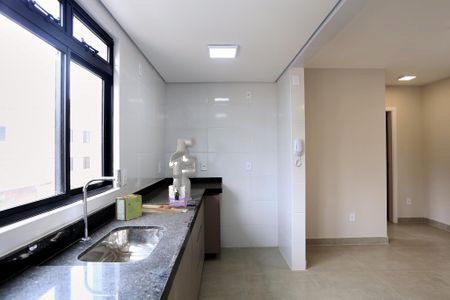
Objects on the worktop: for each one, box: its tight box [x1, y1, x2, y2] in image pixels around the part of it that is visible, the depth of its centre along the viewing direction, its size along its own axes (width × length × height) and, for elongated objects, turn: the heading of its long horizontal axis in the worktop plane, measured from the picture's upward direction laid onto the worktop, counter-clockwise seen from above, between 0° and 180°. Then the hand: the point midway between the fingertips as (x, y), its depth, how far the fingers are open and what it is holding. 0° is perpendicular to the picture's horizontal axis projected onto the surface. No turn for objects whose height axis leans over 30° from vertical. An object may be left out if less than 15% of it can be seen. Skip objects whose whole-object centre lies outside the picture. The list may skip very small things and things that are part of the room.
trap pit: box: [156, 204, 171, 209], centre depth 208 cm, size 11×7×3 cm, turn 173°
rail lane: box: [142, 203, 188, 214], centre depth 209 cm, size 15×38×2 cm, turn 83°
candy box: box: [168, 184, 188, 207], centre depth 207 cm, size 14×6×16 cm, turn 84°
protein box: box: [115, 194, 143, 222], centre depth 187 cm, size 10×15×16 cm
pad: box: [170, 208, 189, 214], centre depth 207 cm, size 11×15×1 cm
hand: (178, 198), depth 207 cm, fingers closed on candy box, 5 cm apart
